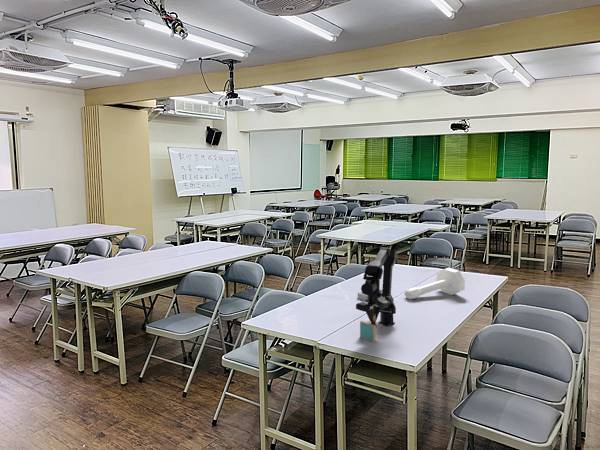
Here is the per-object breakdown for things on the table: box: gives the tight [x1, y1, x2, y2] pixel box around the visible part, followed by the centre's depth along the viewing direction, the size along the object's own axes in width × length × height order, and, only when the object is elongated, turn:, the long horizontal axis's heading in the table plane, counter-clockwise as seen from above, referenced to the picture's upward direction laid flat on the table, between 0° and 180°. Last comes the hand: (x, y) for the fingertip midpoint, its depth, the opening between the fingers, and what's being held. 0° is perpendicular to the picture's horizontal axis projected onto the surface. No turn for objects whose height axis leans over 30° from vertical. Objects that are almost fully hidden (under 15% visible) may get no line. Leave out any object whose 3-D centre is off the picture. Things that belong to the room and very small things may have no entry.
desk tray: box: [357, 288, 382, 302], centre depth 296 cm, size 10×18×4 cm, turn 126°
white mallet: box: [404, 267, 466, 300], centre depth 296 cm, size 24×18×35 cm
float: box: [366, 313, 384, 329], centre depth 225 cm, size 8×5×6 cm, turn 37°
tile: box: [359, 320, 377, 343], centre depth 224 cm, size 9×2×8 cm, turn 36°
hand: (373, 321), depth 225 cm, fingers closed on float, 2 cm apart
